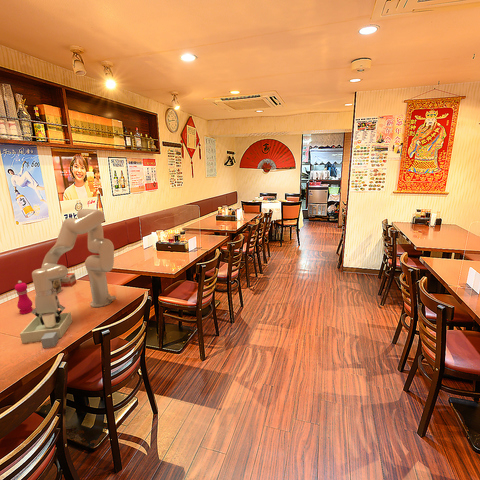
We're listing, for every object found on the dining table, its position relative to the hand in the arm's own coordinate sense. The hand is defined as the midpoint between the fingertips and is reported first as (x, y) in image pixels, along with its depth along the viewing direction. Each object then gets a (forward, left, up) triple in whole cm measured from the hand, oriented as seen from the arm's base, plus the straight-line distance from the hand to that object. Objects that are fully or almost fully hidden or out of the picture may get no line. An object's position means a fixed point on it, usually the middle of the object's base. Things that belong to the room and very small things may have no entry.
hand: (51, 322), depth 151 cm
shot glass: (0, 0, -1) cm, 1 cm away
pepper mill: (+23, -25, -3) cm, 34 cm away
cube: (-5, +17, -3) cm, 18 cm away
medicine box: (+15, -64, -4) cm, 66 cm away
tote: (0, +4, -3) cm, 5 cm away
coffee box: (+17, -50, -3) cm, 52 cm away
